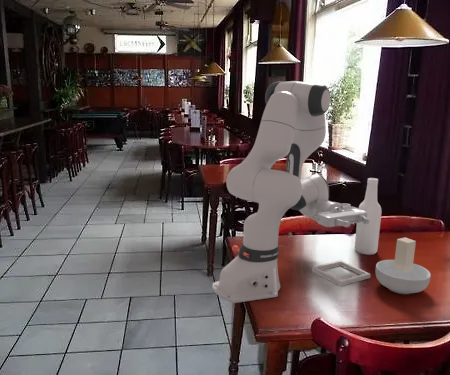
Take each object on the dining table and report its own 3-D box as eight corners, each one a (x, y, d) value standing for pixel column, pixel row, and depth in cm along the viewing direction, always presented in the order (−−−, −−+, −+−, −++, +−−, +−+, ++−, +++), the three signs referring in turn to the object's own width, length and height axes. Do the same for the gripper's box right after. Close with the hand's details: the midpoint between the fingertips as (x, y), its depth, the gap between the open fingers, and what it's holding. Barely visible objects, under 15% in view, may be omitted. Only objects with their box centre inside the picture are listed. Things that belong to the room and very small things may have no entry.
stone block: (404, 272, 139) (407, 243, 137) (393, 268, 142) (397, 239, 140) (412, 270, 141) (415, 241, 139) (401, 266, 144) (405, 237, 142)
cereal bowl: (425, 306, 132) (428, 284, 131) (369, 292, 140) (371, 272, 138) (430, 285, 147) (432, 265, 145) (378, 274, 155) (380, 255, 153)
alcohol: (349, 250, 177) (356, 177, 171) (363, 245, 183) (370, 175, 176) (368, 256, 171) (376, 181, 164) (381, 252, 176) (389, 179, 169)
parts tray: (340, 286, 144) (341, 281, 144) (312, 270, 156) (312, 266, 156) (369, 277, 151) (370, 273, 151) (340, 263, 163) (340, 260, 163)
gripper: (310, 208, 159) (337, 217, 147) (351, 203, 169) (379, 211, 157) (309, 224, 160) (335, 235, 148) (349, 218, 170) (377, 228, 158)
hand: (358, 223), depth 153 cm, fingers open, 8 cm apart
